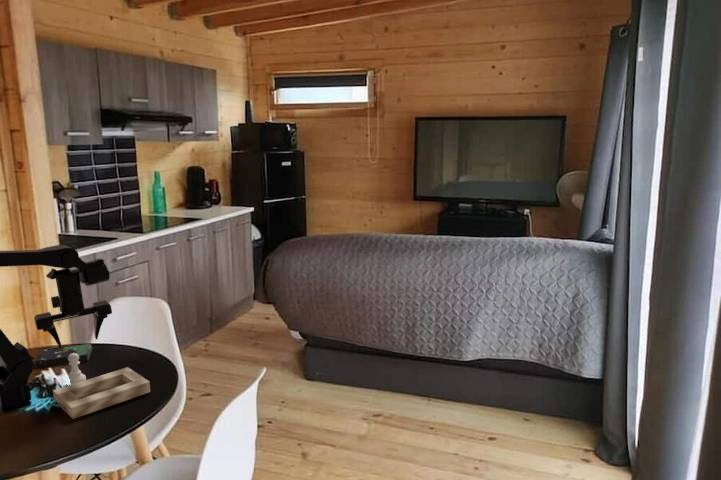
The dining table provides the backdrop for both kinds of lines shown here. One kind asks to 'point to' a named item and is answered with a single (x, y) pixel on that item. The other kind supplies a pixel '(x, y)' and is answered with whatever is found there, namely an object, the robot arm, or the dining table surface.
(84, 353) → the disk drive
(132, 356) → the dining table surface
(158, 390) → the dining table surface
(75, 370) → the chess pawn
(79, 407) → the wooden rectangular frame
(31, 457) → the dining table surface
